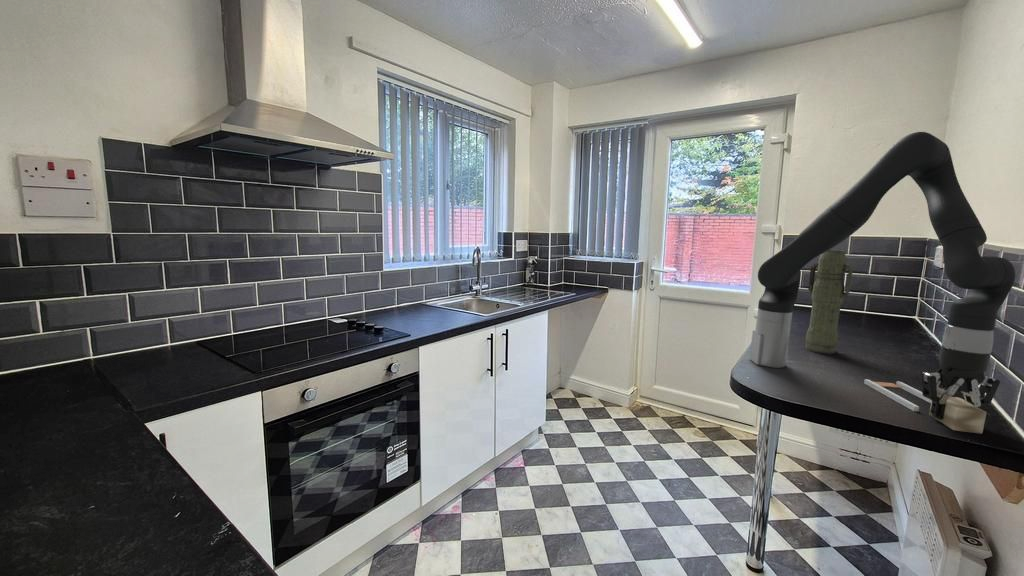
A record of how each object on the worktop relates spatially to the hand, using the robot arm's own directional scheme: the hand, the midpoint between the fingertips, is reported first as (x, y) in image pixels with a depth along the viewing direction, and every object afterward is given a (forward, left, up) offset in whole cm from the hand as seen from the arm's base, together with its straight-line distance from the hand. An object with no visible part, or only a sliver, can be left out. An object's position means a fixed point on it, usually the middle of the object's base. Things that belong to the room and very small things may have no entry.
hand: (951, 418), depth 96 cm
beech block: (0, -1, -1) cm, 1 cm away
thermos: (+1, +56, -1) cm, 56 cm away
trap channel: (0, +14, -1) cm, 14 cm away
